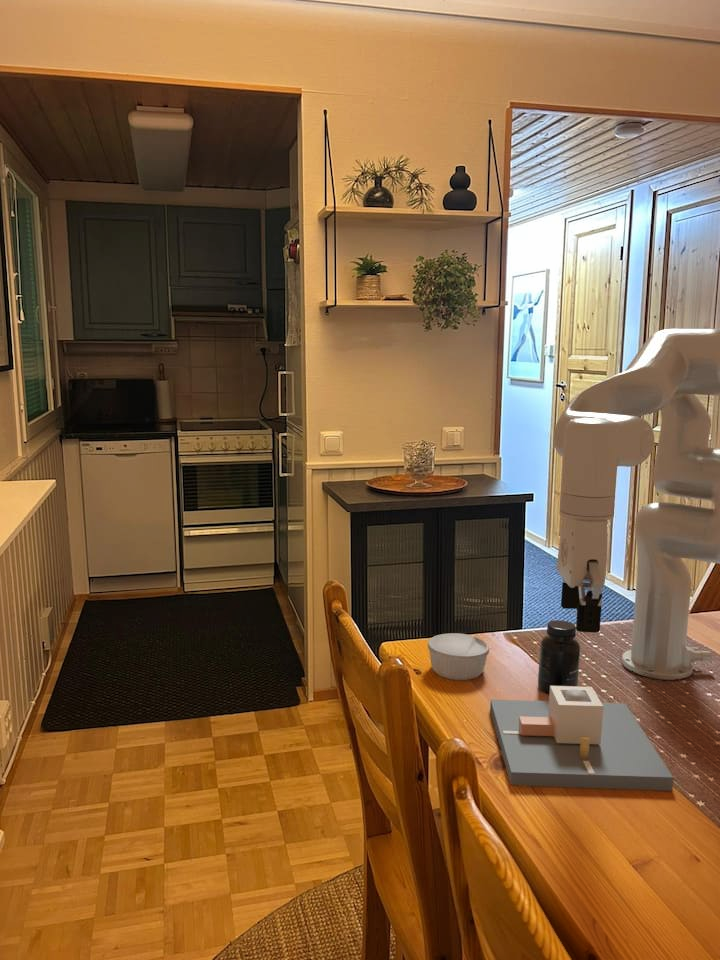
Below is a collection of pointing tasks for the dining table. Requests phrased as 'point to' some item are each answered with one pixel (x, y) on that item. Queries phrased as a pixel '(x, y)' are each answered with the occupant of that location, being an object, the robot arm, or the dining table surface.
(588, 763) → the board
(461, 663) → the ramekin
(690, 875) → the dining table surface
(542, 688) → the supplement bottle
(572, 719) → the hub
